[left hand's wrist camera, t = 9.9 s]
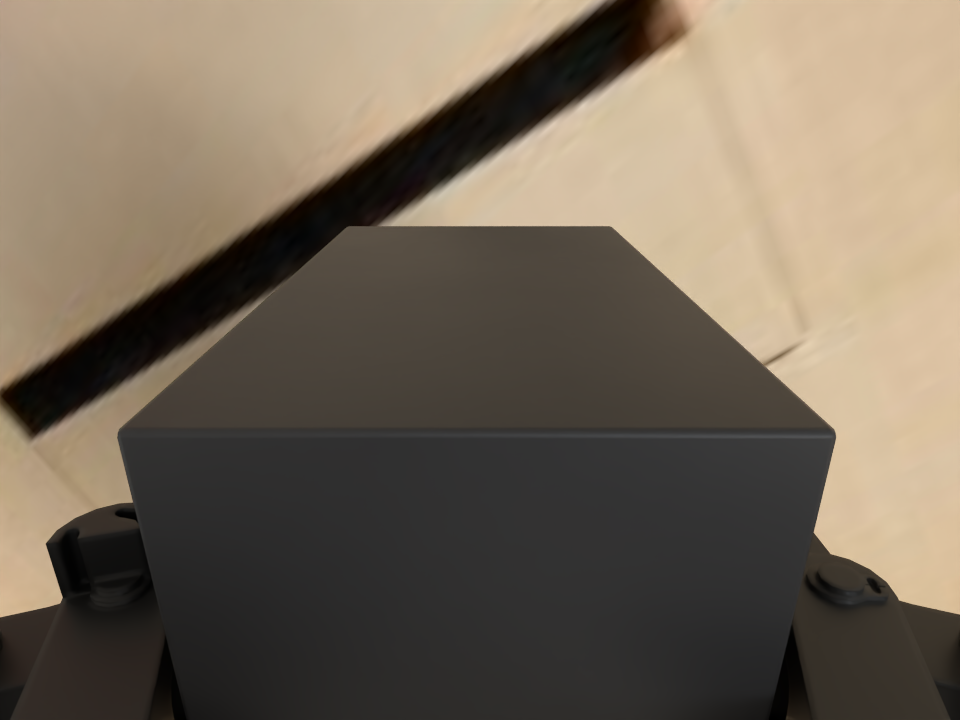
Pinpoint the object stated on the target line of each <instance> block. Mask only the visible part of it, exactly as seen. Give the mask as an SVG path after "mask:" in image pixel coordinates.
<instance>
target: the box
mask: <svg viewBox="0 0 960 720" xmlns="http://www.w3.org/2000/svg"><path fill="white" fill-rule="evenodd" d="M117 438H118V442H119V446H120V450H121V454H122V458H123V462H124V466H125V471H126V475H127V479H128V483H129V487H130V491H131V495H132V499H133V503H134V507H135V511H136V516H137V520H138V524H139V528H140V532H141V536H142V540H143V544H144V548H145V552H146V557H147V561H148V565H149V569H150V573H151V577H152V581H153V585H154V589H155V593H156V597H157V602H158V606H159V610H160V614H161V618H162V622H163V626H164V630H165V634H166V638H167V642H168V647H169V651H170V655H171V659H172V663H173V667H174V671H175V675H176V679H177V683H178V687H179V692H180V696H181V700H182V704H183V708H184V712H185V716H186V720H769V716H770V712H771V708H772V704H773V700H774V695H775V691H776V687H777V683H778V679H779V675H780V670H781V666H782V662H783V658H784V654H785V649H786V645H787V641H788V637H789V633H790V628H791V624H792V620H793V616H794V612H795V608H796V603H797V599H798V595H799V591H800V587H801V582H802V578H803V574H804V570H805V566H806V561H807V557H808V553H809V549H810V545H811V541H812V536H813V532H814V528H815V524H816V520H817V515H818V511H819V507H820V503H821V499H822V494H823V490H824V486H825V482H826V478H827V474H828V469H829V465H830V461H831V457H832V453H833V448H834V444H835V440H836V434H835V431H834V429H833V428H832V427H831V426H830V425H829V424H828V423H826V422H825V421H824V420H823V419H822V418H821V417H820V416H819V415H818V414H817V413H815V412H814V411H813V410H812V409H811V408H810V407H809V406H808V405H807V404H806V403H804V402H803V401H802V400H801V399H800V398H799V397H798V396H797V395H796V394H795V393H793V392H792V391H791V390H790V389H789V388H788V387H787V386H786V385H785V384H784V383H782V382H781V381H780V380H779V379H778V378H777V377H776V376H775V375H774V374H773V373H771V372H770V371H769V370H768V369H767V368H766V367H765V366H764V365H763V364H762V363H760V362H759V361H758V360H757V359H756V358H755V357H754V356H753V355H752V354H751V353H750V352H748V351H747V350H746V349H745V348H744V347H743V346H742V345H741V344H740V343H739V342H737V341H736V340H735V339H734V338H733V337H732V336H731V335H730V334H729V333H728V332H726V331H725V330H724V329H723V328H722V327H721V326H720V325H719V324H718V323H717V322H715V321H714V320H713V319H712V318H711V317H710V316H709V315H708V314H707V313H706V312H704V311H703V310H702V309H701V308H700V307H699V306H698V305H697V304H696V303H695V302H693V301H692V300H691V299H690V298H689V297H688V296H687V295H686V294H685V293H684V292H682V291H681V290H680V289H679V288H678V287H677V286H676V285H675V284H674V283H673V282H671V281H670V280H669V279H668V278H667V277H666V276H665V275H664V274H663V273H662V272H660V271H659V270H658V269H657V268H656V267H655V266H654V265H653V264H652V263H651V262H650V261H648V260H647V259H646V258H645V257H644V256H643V255H642V254H641V253H640V252H639V251H637V250H636V249H635V248H634V247H633V246H632V245H631V244H630V243H629V242H628V241H626V240H625V239H624V238H623V237H622V236H621V235H620V234H619V233H618V232H617V231H615V230H614V229H613V228H612V227H610V226H349V227H347V228H346V229H345V230H343V231H342V232H341V233H340V234H339V235H338V236H337V237H336V238H334V239H333V240H332V241H331V242H330V243H329V244H328V245H326V246H325V247H324V248H323V249H322V250H321V251H320V252H319V253H317V254H316V255H315V256H314V257H313V258H312V259H311V260H310V261H308V262H307V263H306V264H305V265H304V266H303V267H302V268H301V269H299V270H298V271H297V272H296V273H295V274H294V275H293V276H292V277H290V278H289V279H288V280H287V281H286V282H285V283H284V284H283V285H281V286H280V287H279V288H278V289H277V290H276V291H275V292H274V293H272V294H271V295H270V296H269V297H268V298H267V299H266V300H265V301H263V302H262V303H261V304H260V305H259V306H258V307H257V308H255V309H254V310H253V311H252V312H251V313H250V314H249V315H248V316H246V317H245V318H244V319H243V320H242V321H241V322H240V323H239V324H237V325H236V326H235V327H234V328H233V329H232V330H231V331H230V332H228V333H227V334H226V335H225V336H224V337H223V338H222V339H221V340H219V341H218V342H217V343H216V344H215V345H214V346H213V347H212V348H210V349H209V350H208V351H207V352H206V353H205V354H204V355H203V356H201V357H200V358H199V359H198V360H197V361H196V362H195V363H194V364H192V365H191V366H190V367H189V368H188V369H187V370H186V371H184V372H183V373H182V374H181V375H180V376H179V377H178V378H177V379H175V380H174V381H173V382H172V383H171V384H170V385H169V386H168V387H166V388H165V389H164V390H163V391H162V392H161V393H160V394H159V395H157V396H156V397H155V398H154V399H153V400H152V401H151V402H150V403H148V404H147V405H146V406H145V407H144V408H143V409H142V410H141V411H139V412H138V413H137V414H136V415H135V416H134V417H133V418H132V419H130V420H129V421H128V422H127V423H126V424H125V425H124V426H123V427H121V428H120V429H119V432H118V437H117Z"/></svg>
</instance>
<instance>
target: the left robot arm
mask: <svg viewBox="0 0 960 720" xmlns="http://www.w3.org/2000/svg"><path fill="white" fill-rule="evenodd" d="M46 546H47V549H48V552H49V555H50V558H51V562H52V565H53V568H54V571H55V574H56V577H57V581H58V584H59V587H60V590H61V593H62V596H63V599H62V601H61V603H60V604H57V605H54V606H50V607H46V608H42V609H37V610H33V611H28V612H24V613H19V614H14V615H10V616H5V617H1V618H0V720H186V716H185V712H184V708H183V704H182V700H181V696H180V692H179V687H178V683H177V679H176V675H175V671H174V667H173V663H172V659H171V655H170V651H169V647H168V642H167V638H166V634H165V630H164V626H163V622H162V618H161V614H160V610H159V606H158V602H157V597H156V593H155V589H154V585H153V581H152V577H151V573H150V569H149V565H148V561H147V557H146V552H145V548H144V544H143V540H142V536H141V532H140V528H139V524H138V520H137V516H136V511H135V507H134V503H121V504H115V505H111V506H107V507H103V508H99V509H96V510H93V511H91V512H89V513H86V514H84V515H82V516H79V517H77V518H75V519H73V520H72V521H70V522H69V523H67V524H66V525H64V526H63V527H61V528H60V529H58V530H57V531H56V532H55V533H54V535H53V536H52V537H51V538H50V539H49V541H48V542H47V543H46ZM769 720H960V615H959V614H954V613H949V612H945V611H940V610H936V609H931V608H926V607H922V606H917V605H913V604H909V603H906V602H902V601H899V600H898V598H897V596H896V595H895V593H894V592H893V590H892V589H891V588H890V586H889V585H888V583H887V582H885V581H884V580H883V579H882V578H880V577H879V576H878V575H876V574H875V573H874V572H873V571H871V570H870V569H868V568H866V567H864V566H862V565H860V564H858V563H856V562H854V561H851V560H849V559H846V558H842V557H838V556H835V555H831V554H830V553H829V552H828V550H827V549H826V548H825V547H824V545H823V544H822V543H821V542H820V540H819V539H818V538H817V536H816V535H815V534H814V533H813V536H812V541H811V545H810V549H809V553H808V557H807V561H806V566H805V570H804V574H803V578H802V582H801V587H800V591H799V595H798V599H797V603H796V608H795V612H794V616H793V620H792V624H791V628H790V633H789V637H788V641H787V645H786V649H785V654H784V658H783V662H782V666H781V670H780V675H779V679H778V683H777V687H776V691H775V695H774V700H773V704H772V708H771V712H770V716H769Z"/></svg>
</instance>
